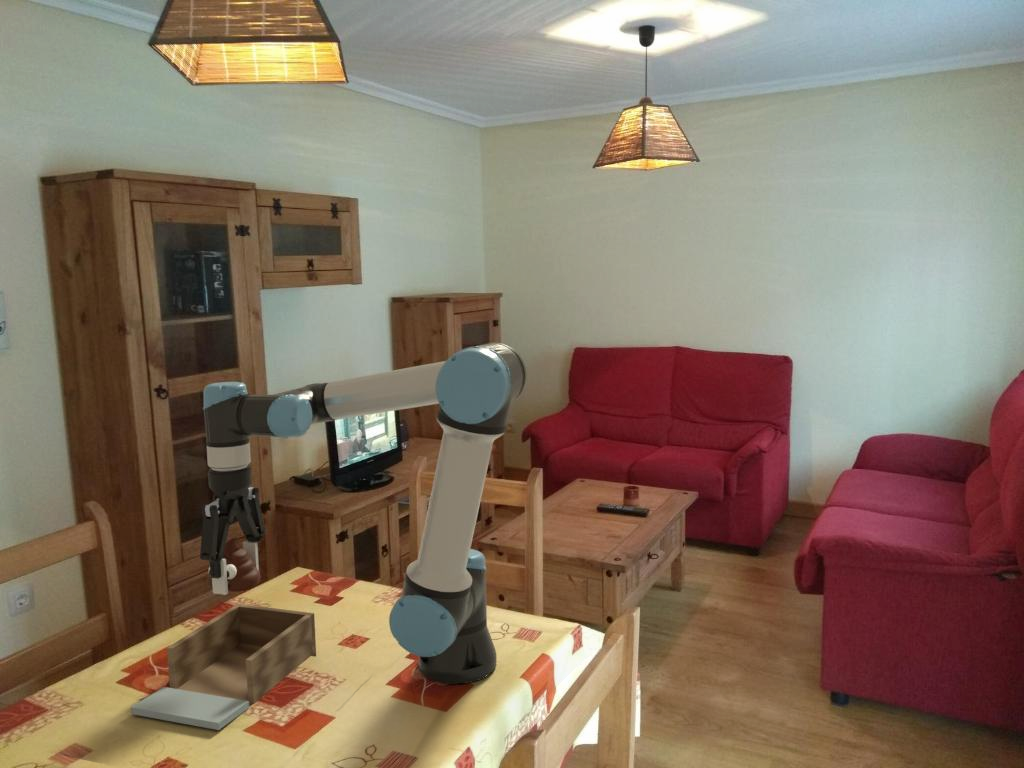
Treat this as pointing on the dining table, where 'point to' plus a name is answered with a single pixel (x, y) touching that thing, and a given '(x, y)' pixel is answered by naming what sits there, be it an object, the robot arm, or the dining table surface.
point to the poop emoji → (238, 568)
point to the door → (190, 708)
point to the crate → (242, 652)
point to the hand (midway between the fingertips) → (236, 583)
